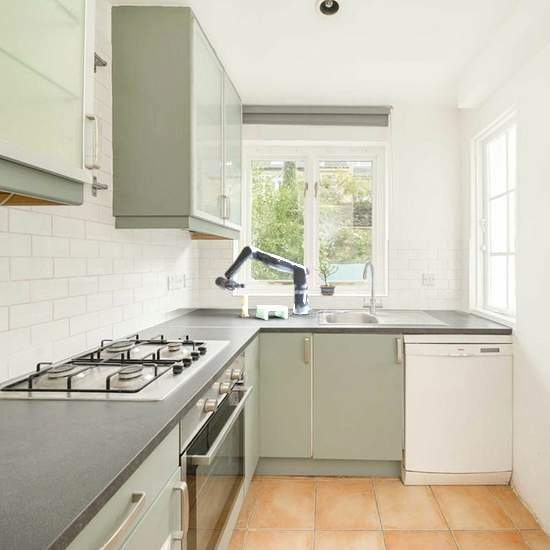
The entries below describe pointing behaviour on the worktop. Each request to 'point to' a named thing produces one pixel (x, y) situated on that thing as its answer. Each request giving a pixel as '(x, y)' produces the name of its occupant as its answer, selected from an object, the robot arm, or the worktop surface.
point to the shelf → (263, 310)
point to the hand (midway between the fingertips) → (238, 286)
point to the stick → (244, 306)
